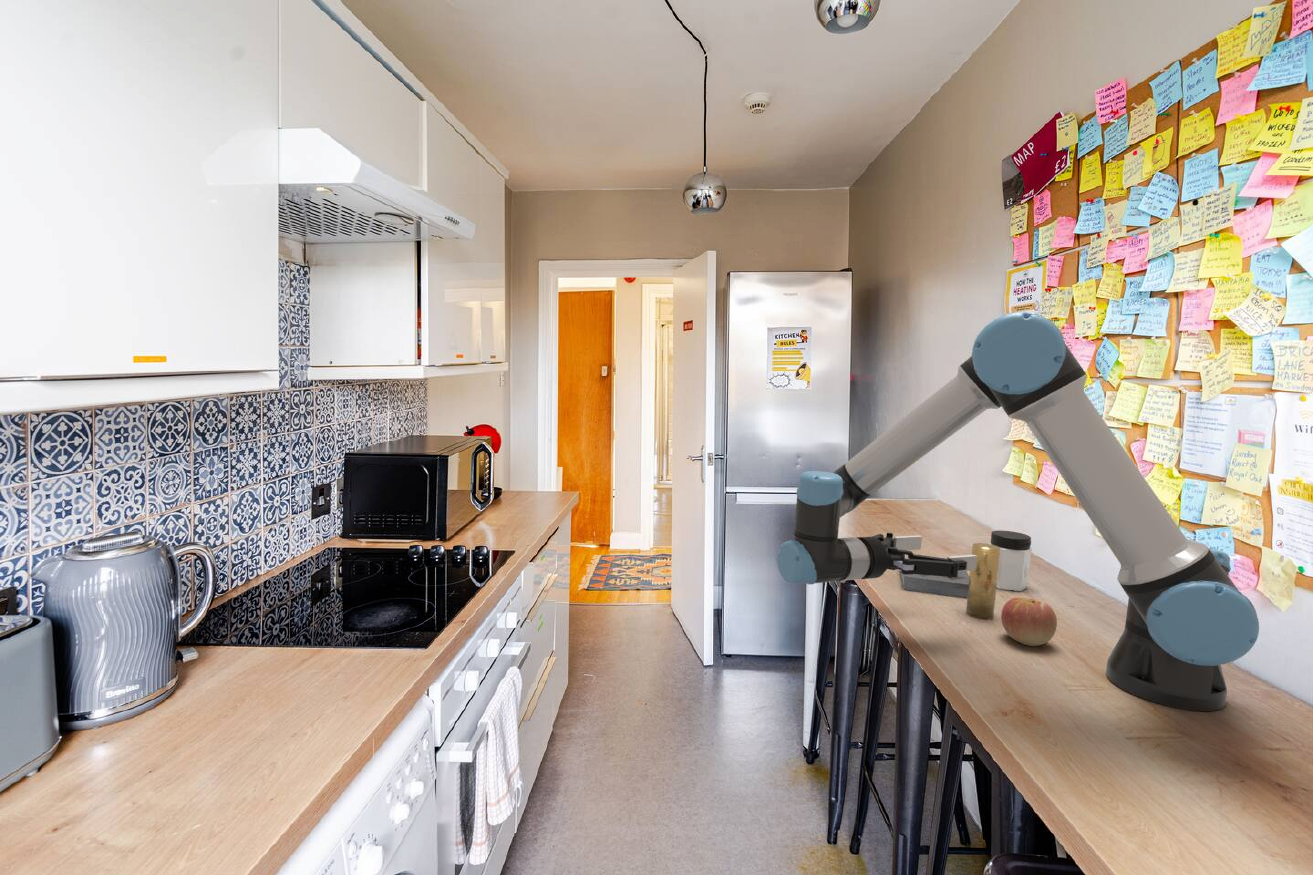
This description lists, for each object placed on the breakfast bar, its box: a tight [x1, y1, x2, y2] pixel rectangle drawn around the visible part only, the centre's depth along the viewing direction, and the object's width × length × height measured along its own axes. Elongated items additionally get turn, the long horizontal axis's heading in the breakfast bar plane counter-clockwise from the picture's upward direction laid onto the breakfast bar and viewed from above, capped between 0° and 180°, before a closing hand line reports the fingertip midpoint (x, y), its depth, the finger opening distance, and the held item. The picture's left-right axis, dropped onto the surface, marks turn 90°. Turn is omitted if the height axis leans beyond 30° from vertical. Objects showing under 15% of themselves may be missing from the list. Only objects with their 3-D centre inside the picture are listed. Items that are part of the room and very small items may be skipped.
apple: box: [1000, 597, 1058, 647], centre depth 123 cm, size 9×9×8 cm
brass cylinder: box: [965, 542, 1001, 620], centre depth 136 cm, size 5×5×14 cm
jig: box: [899, 557, 970, 599], centre depth 155 cm, size 16×14×3 cm
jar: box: [988, 529, 1032, 592], centre depth 156 cm, size 9×8×12 cm
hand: (946, 551), depth 132 cm, fingers open, 13 cm apart
